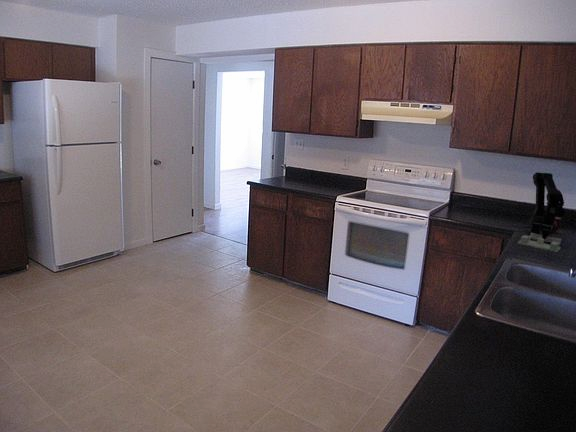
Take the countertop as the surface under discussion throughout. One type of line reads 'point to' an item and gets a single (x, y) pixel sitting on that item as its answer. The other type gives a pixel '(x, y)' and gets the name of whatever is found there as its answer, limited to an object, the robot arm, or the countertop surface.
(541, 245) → the stand
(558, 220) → the mug
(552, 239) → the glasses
